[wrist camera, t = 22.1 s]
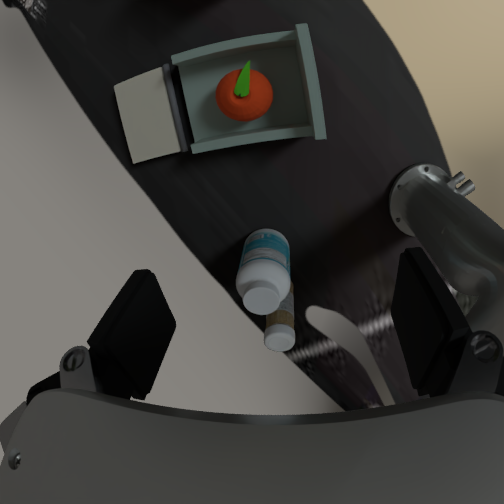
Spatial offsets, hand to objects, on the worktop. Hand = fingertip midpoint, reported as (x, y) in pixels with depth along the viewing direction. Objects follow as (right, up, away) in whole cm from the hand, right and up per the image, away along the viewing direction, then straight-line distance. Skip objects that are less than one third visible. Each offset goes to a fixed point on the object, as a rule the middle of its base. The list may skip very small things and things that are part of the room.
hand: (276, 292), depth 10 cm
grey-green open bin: (-2, +23, +23) cm, 33 cm away
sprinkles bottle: (+4, -4, +40) cm, 40 cm away
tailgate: (-11, +21, +23) cm, 34 cm away
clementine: (-1, +23, +22) cm, 32 cm away
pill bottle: (+2, +2, +36) cm, 36 cm away
